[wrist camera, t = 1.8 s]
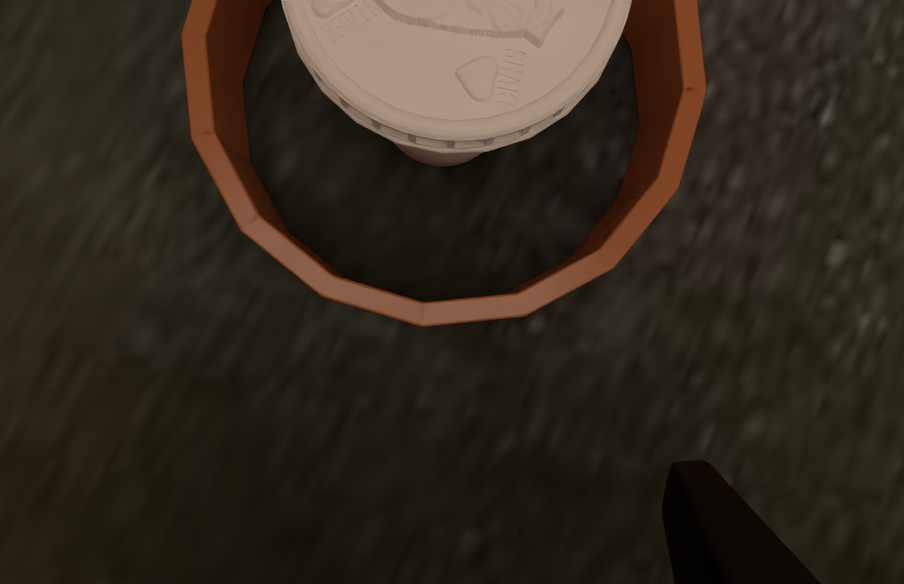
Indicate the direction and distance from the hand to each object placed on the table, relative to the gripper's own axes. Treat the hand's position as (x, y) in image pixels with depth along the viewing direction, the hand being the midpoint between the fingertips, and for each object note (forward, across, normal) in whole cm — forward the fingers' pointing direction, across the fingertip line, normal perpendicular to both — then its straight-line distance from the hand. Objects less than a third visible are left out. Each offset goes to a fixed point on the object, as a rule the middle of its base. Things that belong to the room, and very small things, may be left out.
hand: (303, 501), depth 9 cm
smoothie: (+16, -2, +2) cm, 16 cm away
